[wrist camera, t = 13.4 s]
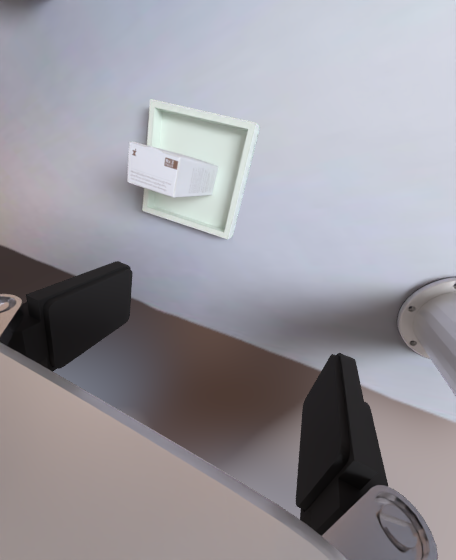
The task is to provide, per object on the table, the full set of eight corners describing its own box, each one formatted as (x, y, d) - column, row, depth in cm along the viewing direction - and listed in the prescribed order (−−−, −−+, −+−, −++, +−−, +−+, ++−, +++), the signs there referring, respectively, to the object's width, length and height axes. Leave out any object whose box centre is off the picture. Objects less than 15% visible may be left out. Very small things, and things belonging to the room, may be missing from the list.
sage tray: (260, 127, 31) (256, 122, 29) (232, 236, 37) (227, 239, 35) (160, 104, 34) (150, 98, 31) (151, 209, 40) (142, 211, 38)
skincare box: (178, 184, 36) (123, 185, 26) (183, 152, 34) (125, 139, 24) (214, 196, 35) (172, 202, 25) (221, 164, 33) (179, 155, 23)
